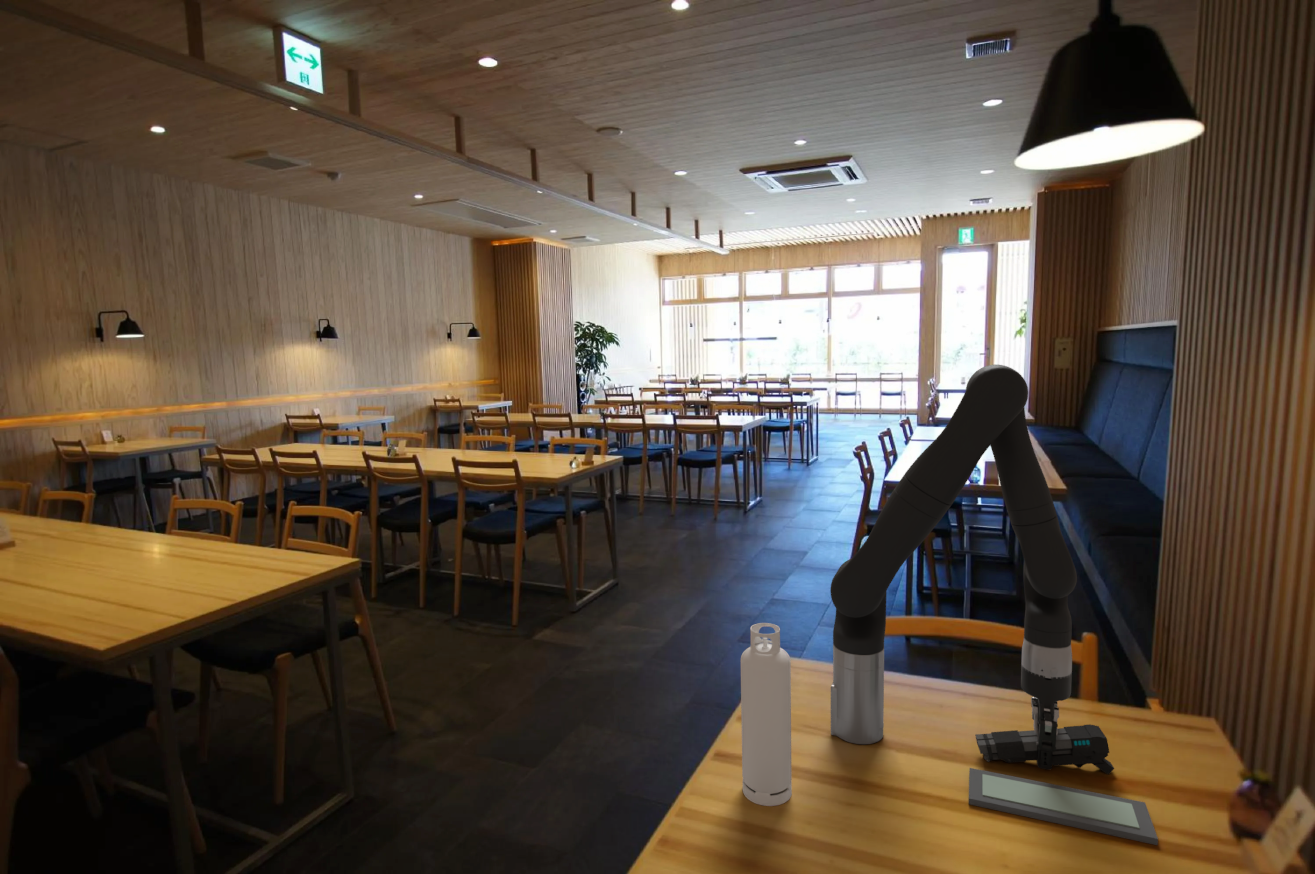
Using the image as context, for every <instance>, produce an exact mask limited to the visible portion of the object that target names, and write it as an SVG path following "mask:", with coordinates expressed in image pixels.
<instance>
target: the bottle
mask: <svg viewBox="0 0 1315 874" xmlns="http://www.w3.org/2000/svg"><path fill="white" fill-rule="evenodd" d="M763 627H766V628H767V627H768V628H773V630H774V633H760V630H761V628H763ZM769 639H770V640H769ZM791 662H792V659H791V656H790V655H789V653H788V652H787V651H786V650H785V649H783V648H782V647H781V628H780V626H779V625H776V624H774V623H770V622H769V623H768V622H759V623H756V624H752V625H751V626H750V646H749V647H747V648H746V649H745V650H744V651H743V652H742V654H741V656H740V697H741V698H740V699H741V700H740V703H741V704H740V706H741V707H740V709H741V711H740V712H741V714H740V715H741V770H742V793H743V795H744V796H745V798H747V800H748V801H750V802H752V803H753V804H756V805H760V806H765V807H766V806H767V807H773V806H779V805H783V804H784V803H787V802H788V801H789V800H790V799H791V797H792V795H793V793H792V792H793V790H792V786H793V785H792V784H793V783H792V684H791V683H792V681H791V680H792V673H791V671H792V669H791V666H792V665H791V664H792V663H791Z"/></svg>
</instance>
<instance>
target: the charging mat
mask: <svg viewBox="0 0 1315 874" xmlns="http://www.w3.org/2000/svg"><path fill="white" fill-rule="evenodd" d="M968 779H969V780H968V805H971V806H975V807H976V806H977V807H980V808H985V809H988V810H989V809H990V810H994V811H999V812H1003V813H1008V814H1012V815H1016V816H1022V817H1025V818H1031V819H1035V820H1040V821H1045V822H1048V823H1054V824H1058V825H1063V826H1068V827H1072V828H1077V829H1080V830H1086V831H1089V832H1096V833H1100V834H1104V835H1109V836H1114V837H1117V838H1122V839H1127V840H1132V841H1135V842H1136V841H1137V842H1140V843H1146V844H1151V845H1155V846H1158V845H1159V838H1158V837H1159V836H1157V832H1156V830H1155V827H1154V824H1153V821H1152V818H1151V815H1150V812H1149V810H1148V807H1147V804H1146V802H1145V801H1140V800H1135V799H1129V798H1125V797H1118V796H1114V795H1109V794H1104V793H1100V792H1093V791H1088V790H1085V789H1079V788H1075V787H1069V786H1064V785H1060V784H1059V785H1058V784H1053V783H1048V782H1044V781H1039V780H1033V779H1028V778H1023V777H1018V776H1013V775H1008V774H1003V773H999V772H993V771H990V770H989V771H988V770H984V769H983V770H982V769H979V768H974V767H973V768H972V767H969V776H968Z"/></svg>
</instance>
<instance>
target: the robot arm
mask: <svg viewBox="0 0 1315 874" xmlns="http://www.w3.org/2000/svg"><path fill="white" fill-rule="evenodd" d="M1028 399H1029V387H1028V384H1027V381H1026V380H1025V378H1024V377H1023V375H1022V374H1021V373H1020V372H1018V371H1017V370H1016V369H1014V368H1012V367H1009V366H1007V365H1003V364H989V365H986V366H983V367H980V368H978V369H977V370H976V371H975V372H974V373H973V374H972V375H971V377H970V378H969V380H968V381H967V383H966V387H965V391H964V394H963V396H962V398H961V400H960V402H959V404H958V406H957V408H955V410H954V413H953V414H952V416H951V418H950V419H949V421H948V423H947V424H946V426H945V427H944V428H943V430H942V431H941V432H940V433H939V435H937V437H936V438H935V439H934V440H932V442H931V443H930V444H929V445H928V446H927V447H926V448H925V450H923V452H921V454H919V456H918V457H917V458H916V459H915V460H914V461H913V463H911V465H910V466H909V468H908V469H907V470H906V471H905V473H904V474H903V476H902V477H901V479H900V480H899V482H898V483H897V484H896V486H895V488H894V489H893V490H892V492H891V493H890V496H889V497H888V499H887V501H886V502H885V504H884V506H883V508H882V509H881V511H880V513H879V515H878V517H877V519H876V520H875V523H874V525H873V527H872V529H871V532H870V533H869V534H868V536H867V538H866V540H865V541H864V543H863V544H862V545H861V547H860V548H859V549H858V550H857V551H856V553H855V554H854V555H853V557H852V558H850V559H847V560H846V561H844V562H843V563H842V564H841V565H840V566H839V567H838V569H837V571H836V572H835V574H834V575H833V578H832V580H831V582H830V583H831V584H830V588H829V589H830V599H831V601H832V605H833V606H834V607H835V616H834V617H835V618H834V624H833V630H832V644H833V645H832V651H833V652H832V654H833V655H832V658H833V659H832V662H833V663H832V669H833V670H832V674H833V675H832V683H831V686H830V735H832V736H834V737H835V736H836V737H838V738H839V739H841V740H842V741H845V742H848V743H851V744H855V745H871V744H874V743H878V742H879V741H881V740H882V739H883V737H884V729H885V728H884V727H885V723H884V717H885V715H884V713H885V712H884V710H885V709H884V708H885V707H884V706H885V705H884V704H885V703H884V702H885V701H884V700H885V699H884V697H885V636H886V627H887V626H886V625H887V616H886V615H887V590H888V589H889V587H890V585H891V583H892V582H893V580H894V578H895V577H896V575H897V573H898V572H899V571H900V569H901V567H902V566H903V565H904V563H905V562H906V561H907V560H908V558H909V557H910V556H911V555H912V554H913V553H914V552H915V551H916V550H917V549H918V548H919V546H920V545H921V544H922V543H923V542H924V540H926V538H927V537H928V536H929V535H930V534H931V532H932V531H934V529H935V527H936V526H937V525H938V524H939V523H940V521H941V520H942V519H943V517H944V516H945V515H946V513H948V512H947V511H948V510H949V509H950V508H951V506H952V505H953V504H954V503H955V500H956V499H957V498H958V496H959V495H960V493H961V492H962V490H963V489H964V487H965V485H966V484H967V482H968V480H969V478H970V477H971V476H972V474H973V472H974V470H975V468H976V466H977V464H978V463H979V461H980V460H981V458H982V456H983V455H984V454H985V453H986V451H987V450H988V449H989V448H990V449H991V452H992V455H993V460H994V461H995V466H996V470H997V475H998V479H999V483H1000V484H999V486H1000V489H1001V493H1002V498H1003V500H1004V501H1003V502H1004V504H1005V507H1006V511H1007V514H1008V517H1009V521H1010V524H1011V526H1012V530H1013V531H1014V534H1015V537H1016V538H1017V540H1018V543H1019V545H1020V550H1021V552H1022V557H1023V559H1024V562H1023V574H1022V575H1023V587H1024V588H1023V589H1024V590H1023V591H1024V602H1025V612H1024V623H1023V624H1024V627H1023V628H1024V629H1023V643H1022V647H1021V664H1020V665H1021V666H1020V669H1021V670H1020V687H1021V689H1022V690H1023V691H1024V692H1025V693H1026V695H1029V696H1031V698H1030V704H1031V705H1030V706H1031V719H1032V720H1033V730H1035V732H1036V733H1037V742H1036V745H1037V760H1036V765H1037V768H1038V769H1043V770H1047V771H1048V770H1049V771H1050V770H1052V769H1053V765H1052V755H1053V752H1055V750H1056V747H1055V746H1056V735H1057V729H1058V728H1059V725H1058V719H1059V718H1060V707H1058V702H1062V701H1065V700H1068V699H1069V698H1070V697H1071V696H1072V694H1071V693H1072V677H1073V675H1072V673H1073V672H1072V671H1073V652H1072V632H1073V631H1072V615H1071V612H1070V609H1069V605H1068V603H1069V602H1068V600H1069V599H1068V598H1069V595H1070V594H1071V593H1072V592H1073V591H1074V590H1075V587H1076V586H1077V581H1078V576H1077V571H1076V567H1075V564H1074V562H1073V559H1072V556H1071V553H1070V551H1069V548H1068V547H1067V544H1066V541H1065V539H1064V536H1063V533H1062V531H1061V527H1060V522H1059V519H1058V514H1057V511H1056V507H1055V504H1054V501H1053V496H1052V494H1051V491H1050V488H1049V485H1048V482H1047V480H1046V478H1045V475H1044V473H1043V470H1042V467H1041V465H1040V463H1039V460H1038V457H1037V455H1036V453H1035V449H1034V446H1033V444H1032V440H1031V437H1030V432H1029V429H1028V425H1027V418H1026V410H1025V407H1026V405H1027V402H1028ZM1042 740H1048V741H1050V742H1048V741H1042Z"/></svg>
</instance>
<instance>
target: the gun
mask: <svg viewBox="0 0 1315 874" xmlns="http://www.w3.org/2000/svg"><path fill="white" fill-rule="evenodd" d="M975 741H976V744H977V747H978V750H979V753H980V755H983V759H984V760H985V761H986V762H988V763H990V762H992V761H994V760H995V761H996V760H1002V761H1004V762H1005V763H1007V764H1009V763H1024V762H1025V763H1027V761H1028V762H1029V761H1030V762H1031V761H1037V745H1036V742H1037V733H1036V732H1035V730H1034V729H1033V730H1021V731H1019V730H1015V729H1014V730H1004V731H1003V730H1002V731H1001V730H1000V731H991V732H990V733H978V734H977V733H976V734H975ZM1042 741H1048V740H1042ZM1048 742H1050V741H1048ZM1108 743H1109V742H1108V738H1107V736H1106V735H1105V734H1104V732H1103V731H1102V728H1100V726H1099V725H1095V724H1091V723H1089V724H1083V725H1072V726H1063V727H1062V728H1061V727H1060V728H1059V727H1058V728H1057V735H1056V746H1055V747H1056V750H1055V752H1053V755H1052V767H1056V766H1057V767H1059V766H1073V765H1074V766H1075V767H1076V768H1082V767H1083V766H1084V765H1089V764H1092V765H1093V766H1095V767H1096V768H1097V769H1099V770H1100V771H1102V773H1105V774H1106V775H1110V774H1111V773H1112V772H1113V771H1114V770H1115V767H1114V765H1113V764H1112V763H1111V762H1110V761H1109V760H1108V759H1106V758H1107V757H1108V756H1109V754H1110V748H1109V744H1108Z"/></svg>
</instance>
